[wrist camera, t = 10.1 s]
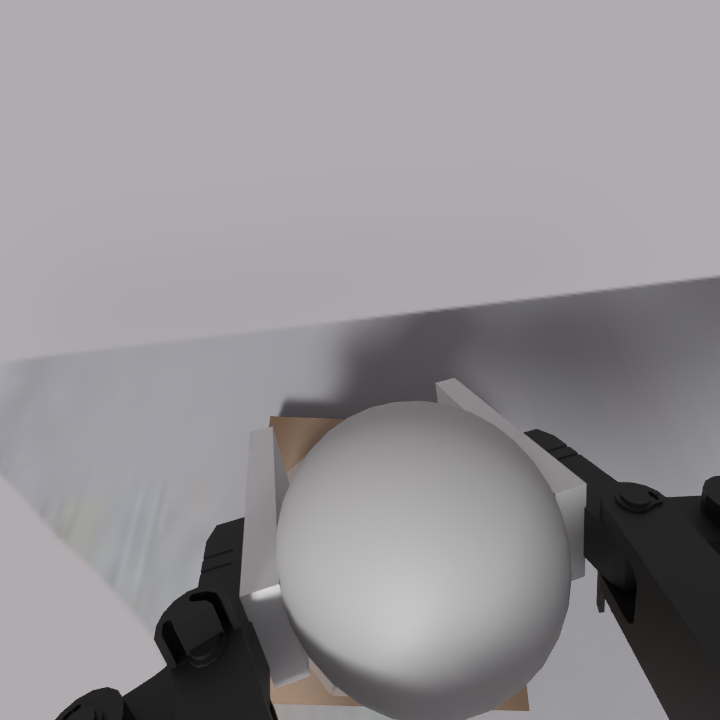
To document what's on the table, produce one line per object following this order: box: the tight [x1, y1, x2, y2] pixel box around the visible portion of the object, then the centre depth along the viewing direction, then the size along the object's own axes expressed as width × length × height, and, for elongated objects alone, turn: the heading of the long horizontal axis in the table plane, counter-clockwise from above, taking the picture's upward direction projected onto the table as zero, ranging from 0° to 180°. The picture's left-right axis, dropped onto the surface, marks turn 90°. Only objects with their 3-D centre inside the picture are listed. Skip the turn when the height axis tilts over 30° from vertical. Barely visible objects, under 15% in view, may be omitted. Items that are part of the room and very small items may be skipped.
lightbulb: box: [276, 401, 572, 720], centre depth 11 cm, size 6×6×11 cm
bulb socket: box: [269, 416, 529, 711], centre depth 18 cm, size 12×12×5 cm
